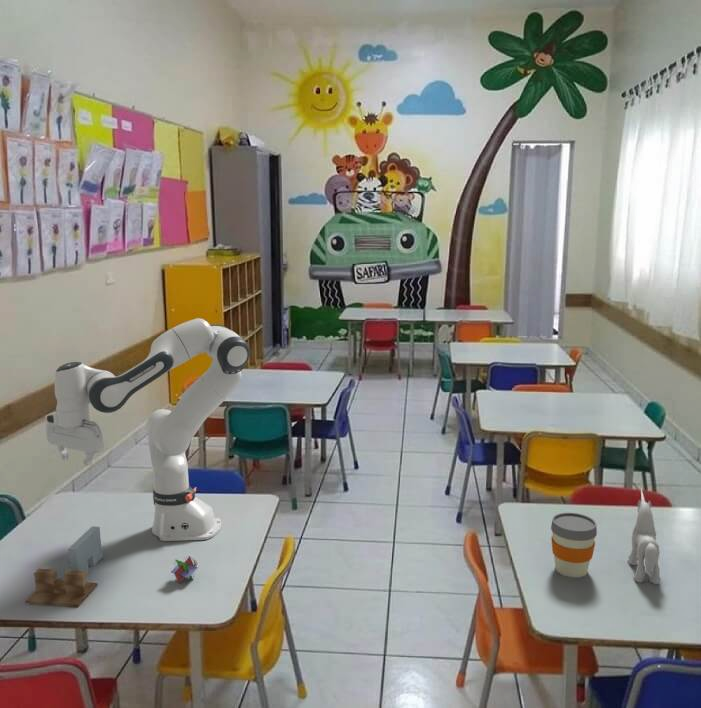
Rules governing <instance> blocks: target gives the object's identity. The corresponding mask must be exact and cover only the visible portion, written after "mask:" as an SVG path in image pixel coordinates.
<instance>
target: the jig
mask: <svg viewBox="0 0 701 708" xmlns="http://www.w3.org/2000/svg"><path fill="white" fill-rule="evenodd" d="M33 575H34V585H35V591H34V592H33V593H32V594H31V595H30V596H29V597H28V598H27V599H26V600H25V604H26V603H29V604H28V605H37V606H38V605H41V606H56V607H70V608H79V607H80V606H81V605H82V604H83V602H84V601H85V600H87V598H88V597H89V596H90V595H91V594H92V593H93V592H94V590H95V589H96V588H97V587H98V585H99V584H98V582H92V581H88V573H87V572H86V571H74V570H70V569H68V570H67V571H65V573H64V574H63V578H64V579H58V570H57V569H56V568H54V569H53V568H41V567H40V568H39V567H38V568H37V569H36V570H35V571H34V572H33Z"/></svg>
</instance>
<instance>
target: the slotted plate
mask: <svg viewBox="0 0 701 708" xmlns="http://www.w3.org/2000/svg"><path fill="white" fill-rule="evenodd" d="M100 528H101V527H100V526H90V527H89V529H87V531H85V532H84V533H83V534H82V535H81V536H80V537H79V538H78V539H77V540H76V541H75V542H73V544H72V545H71V546H69V547H68V548H67V551H68V558H69V559H68V561H69V570H74V571H86V572H87V574H88V573H89V567H94V566H95V565H97V563H98V562H99V561H100V560H101V559H102V558H103V551H102V538H101V529H100Z"/></svg>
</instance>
